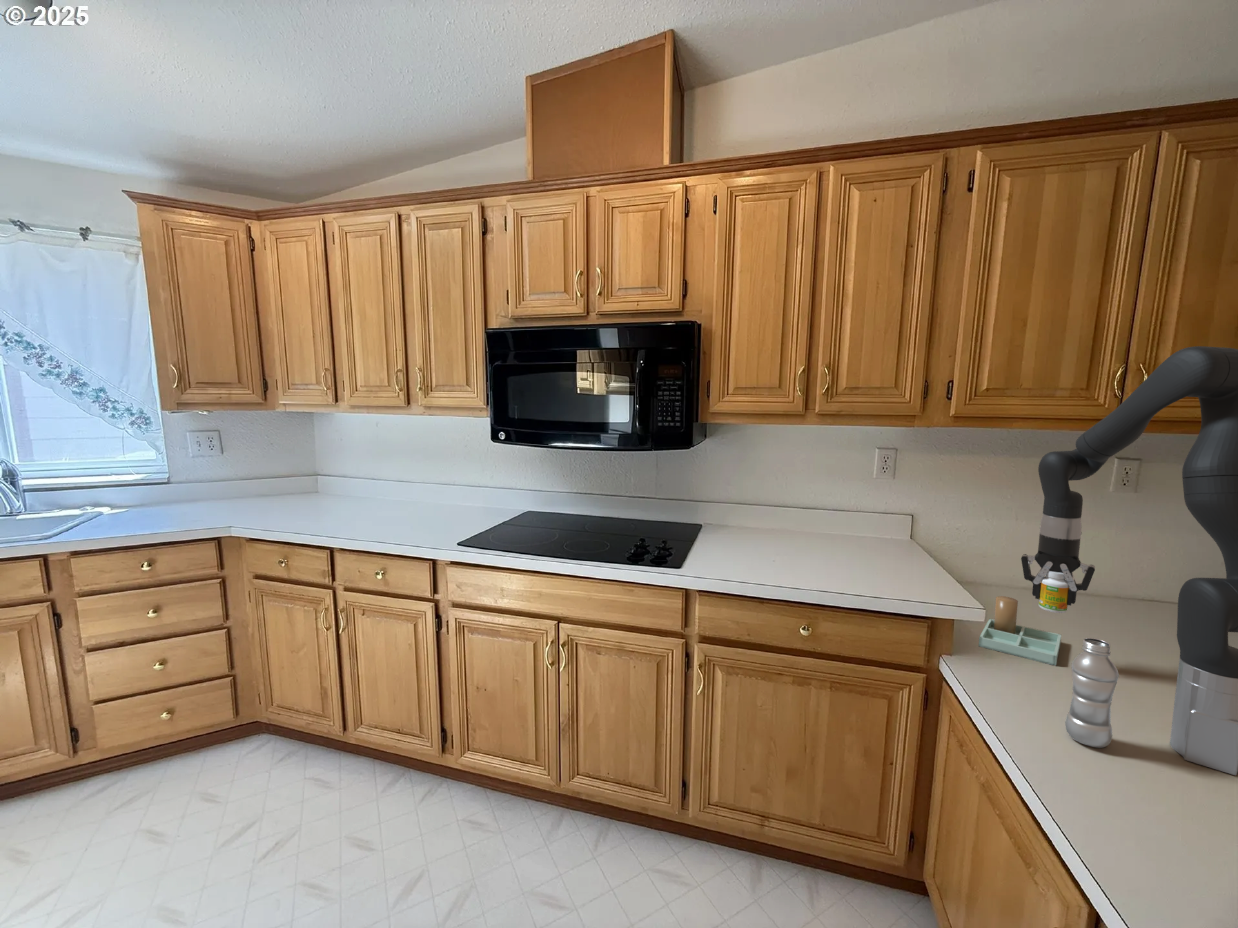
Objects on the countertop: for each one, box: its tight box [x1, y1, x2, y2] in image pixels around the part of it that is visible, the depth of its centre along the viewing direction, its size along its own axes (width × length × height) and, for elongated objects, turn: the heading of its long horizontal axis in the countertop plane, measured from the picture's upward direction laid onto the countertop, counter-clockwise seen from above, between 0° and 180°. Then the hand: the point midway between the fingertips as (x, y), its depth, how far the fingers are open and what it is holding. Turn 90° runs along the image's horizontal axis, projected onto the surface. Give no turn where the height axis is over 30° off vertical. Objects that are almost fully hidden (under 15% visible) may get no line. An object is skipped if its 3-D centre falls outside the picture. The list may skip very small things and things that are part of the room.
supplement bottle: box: [1038, 571, 1070, 614], centre depth 126 cm, size 5×5×10 cm
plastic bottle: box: [1064, 637, 1120, 749], centre depth 98 cm, size 6×7×20 cm
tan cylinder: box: [994, 595, 1019, 634], centre depth 143 cm, size 5×5×10 cm
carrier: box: [978, 618, 1062, 667], centre depth 139 cm, size 16×16×2 cm
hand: (1053, 600), depth 127 cm, fingers closed on supplement bottle, 5 cm apart
